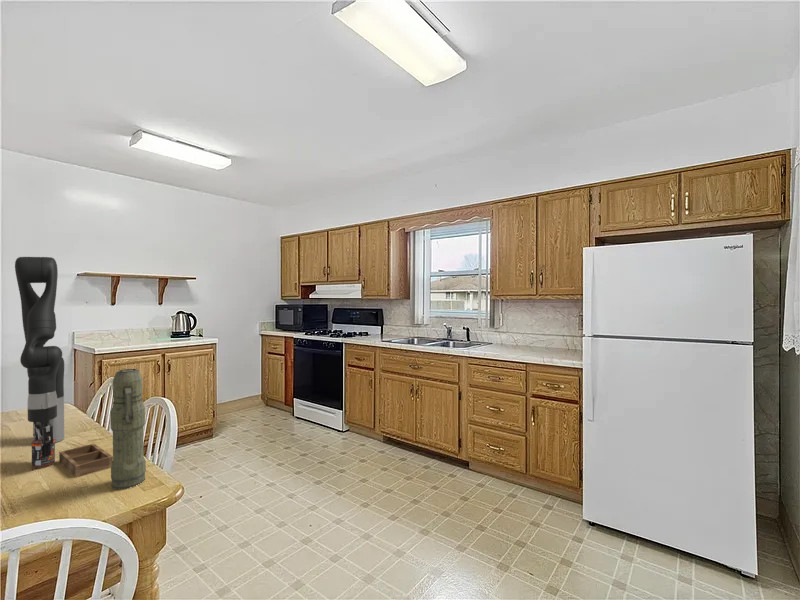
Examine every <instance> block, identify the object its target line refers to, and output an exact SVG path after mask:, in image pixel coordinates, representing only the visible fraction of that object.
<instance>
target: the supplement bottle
mask: <svg viewBox="0 0 800 600" xmlns="http://www.w3.org/2000/svg"><path fill="white" fill-rule="evenodd" d="M45 441H48V438H47V439H45ZM55 448H56V442H55V438H54V437H53V443H52V444H51V455H49V456H45V457H43V456H42V445H41V440H39V439H38V434H37V433H36V438H35V439H34V438H33V440H32V441H31V467H32V468H33V469H42V468H46V467H49V466H52V465H53V464H55V461H56V460H55V459H56V449H55Z"/></svg>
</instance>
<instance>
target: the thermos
mask: <svg viewBox="0 0 800 600" xmlns="http://www.w3.org/2000/svg"><path fill="white" fill-rule="evenodd" d="M112 398H113V401H112V407H111V410H110V430H111V431H112V456H113V462H112V466H111V468H110V479H111V488H112V489H113V490H128V489H131V488H130V487H132V488H134V487H133V486H135V487H137V486H136V485H138V484H140V483H142V482H143V481H144V480H145V481H146V470H147V469H146V467H147V464H146V463H147V462H146V459H145V457H144V450H145V448H144V427H145V424H146V406H145V403H144V401H143V400H144V399H143V376H142V374H141V371H140V370H139V369H137V368H125V369H120V370H118V371H115V374H114V377H113V380H112ZM145 481H144V482H145ZM144 482H143V483H144ZM143 483H142V484H143ZM140 485H141V484H140ZM138 486H139V485H138ZM127 488H128V489H127Z"/></svg>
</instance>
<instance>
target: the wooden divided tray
mask: <svg viewBox="0 0 800 600" xmlns="http://www.w3.org/2000/svg"><path fill="white" fill-rule="evenodd" d="M58 453H59V455H58V456H59V457H58V460H59V464H61V465H62V466H63V467H64V468H65V469H67V471H69V472H70V474H71V475H73V476H74V477H75V478H79V477H82V476H86V475H88V474H93V473H97V472H100V471H103V470H107V469H111V466H112V462H113V455H111V454H110V453H108V451H106V450H104V449H102V448H101V447H100V446H98V445H97V444H95V443H91V444H87V445H82V446H78V447H73V448H70V449H66V450H65V449H64V450H63V451H62V450H61V451H59V452H58Z"/></svg>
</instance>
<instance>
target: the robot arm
mask: <svg viewBox="0 0 800 600" xmlns="http://www.w3.org/2000/svg"><path fill="white" fill-rule="evenodd" d="M14 270H15V277H16V282H17V287H18V291H19V298H20V303H21V304H20V306H21V318H22V327H23V333H24V338H25V344H24V348H23V350H22V351H21V352H22V353H21V355H20V358H19V359H20V364H21V366H22V367H23V368H24V369H26V373H27V378H28V381H27V382H28V383H27V385H28V387H27V388H28V389H27V391H28V393H27V396H28V397H27V421H28V422H29V423H32V426H33V427H32V428H33V429H32V430H33V431H32V433H33V434H32V436H33V440H34V439H35V438H36V433H37V434H38V439H39V440H41V445H42V456H43V457H45V456H49V455H51V444H52V443H53V437H54V438H55V443H58V442H60V441H63V440H64V439H65V393H64V392H65V390H64V389H65V388H64V384H65V382H64V380H65V359H64V358H63V351H62V349H61V348H60V347H59V346H57V345H46V343H47V342H49V340H52V339H53V338H54V337H55V332H56V330H57V318H56V313H55V307H56V306H55V305H56V297H57V289H58V287H57V286H58V274H59V273H58V264H57V261H56V259H55V258H54V257H51V256H50V257H48V256H19V257H17V258H16V259H15V262H14ZM32 284H45V287H44V290H43V292H42V294H41V296H39V295H38V294H37V293H36V291H35V289H34V288H33V285H32ZM45 345H46V346H45ZM47 438H48V441H45V439H47Z"/></svg>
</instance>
